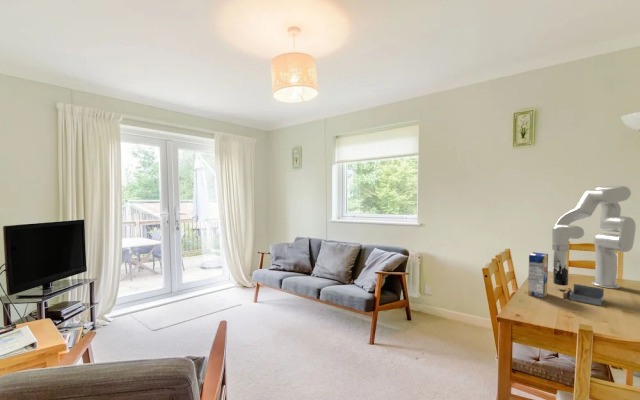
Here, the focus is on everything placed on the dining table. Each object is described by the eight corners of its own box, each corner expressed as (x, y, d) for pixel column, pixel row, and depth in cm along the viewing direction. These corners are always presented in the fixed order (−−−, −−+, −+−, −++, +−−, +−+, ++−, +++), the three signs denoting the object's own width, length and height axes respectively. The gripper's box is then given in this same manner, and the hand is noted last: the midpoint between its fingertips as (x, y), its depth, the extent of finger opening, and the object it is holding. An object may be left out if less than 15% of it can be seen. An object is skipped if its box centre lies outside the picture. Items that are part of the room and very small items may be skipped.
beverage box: (528, 295, 170) (529, 254, 170) (532, 290, 178) (533, 252, 178) (543, 298, 166) (544, 256, 165) (547, 293, 173) (548, 253, 173)
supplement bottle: (570, 286, 176) (570, 265, 176) (557, 285, 178) (557, 264, 177) (564, 282, 183) (563, 262, 183) (550, 282, 185) (550, 262, 184)
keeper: (573, 294, 171) (574, 283, 171) (603, 300, 162) (603, 288, 162) (569, 299, 163) (569, 288, 163) (600, 305, 154) (600, 293, 154)
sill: (568, 293, 173) (568, 288, 173) (570, 294, 172) (570, 288, 172) (563, 298, 165) (563, 292, 165) (566, 298, 164) (566, 293, 164)
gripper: (555, 245, 188) (556, 274, 189) (548, 249, 177) (549, 280, 177) (571, 246, 183) (571, 276, 183) (565, 250, 171) (565, 283, 172)
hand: (560, 278), depth 180 cm, fingers closed on supplement bottle, 6 cm apart
